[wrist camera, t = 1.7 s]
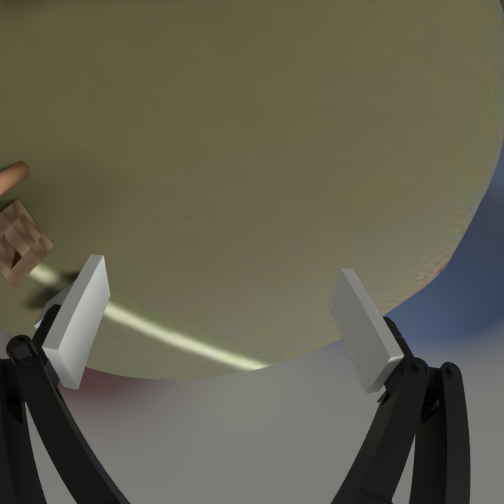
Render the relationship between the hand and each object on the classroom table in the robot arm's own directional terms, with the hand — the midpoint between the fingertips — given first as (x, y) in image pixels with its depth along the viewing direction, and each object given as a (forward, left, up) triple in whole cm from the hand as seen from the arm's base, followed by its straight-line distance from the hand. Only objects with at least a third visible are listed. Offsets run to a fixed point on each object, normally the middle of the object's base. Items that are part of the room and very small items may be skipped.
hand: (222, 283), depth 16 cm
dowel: (-18, -25, -25) cm, 39 cm away
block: (-10, -34, -25) cm, 43 cm away
